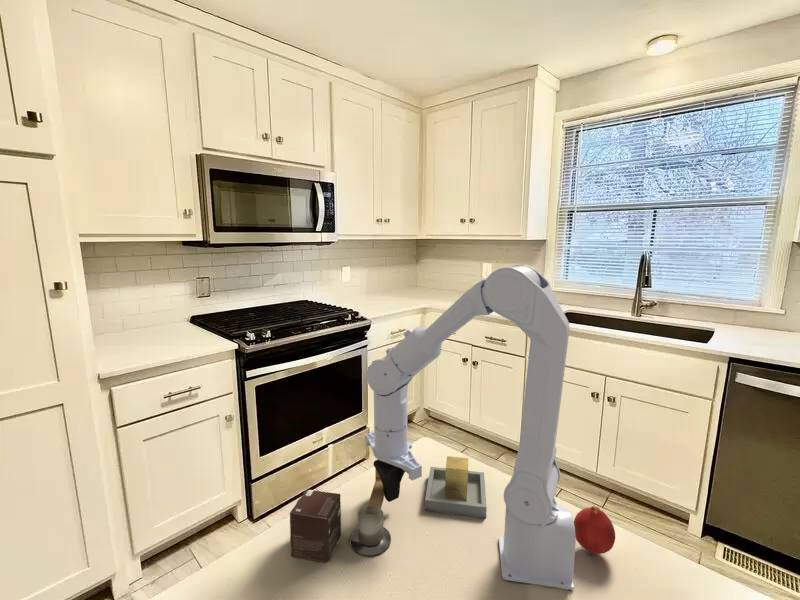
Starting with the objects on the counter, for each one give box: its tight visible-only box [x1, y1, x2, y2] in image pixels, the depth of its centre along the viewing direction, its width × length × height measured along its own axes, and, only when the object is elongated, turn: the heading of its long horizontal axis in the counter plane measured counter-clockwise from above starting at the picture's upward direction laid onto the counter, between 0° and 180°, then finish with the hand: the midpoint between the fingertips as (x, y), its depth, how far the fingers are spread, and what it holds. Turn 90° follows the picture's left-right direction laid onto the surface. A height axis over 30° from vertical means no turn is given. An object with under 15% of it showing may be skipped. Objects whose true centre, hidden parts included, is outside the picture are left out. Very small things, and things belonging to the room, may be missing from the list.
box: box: [289, 489, 342, 563], centre depth 61 cm, size 6×6×7 cm
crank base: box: [349, 526, 392, 558], centre depth 62 cm, size 6×6×1 cm
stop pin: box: [445, 455, 469, 501], centre depth 73 cm, size 4×4×6 cm
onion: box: [573, 505, 616, 556], centre depth 60 cm, size 6×6×8 cm
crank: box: [357, 467, 385, 546], centre depth 67 cm, size 14×4×5 cm, turn 173°
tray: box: [424, 466, 488, 519], centre depth 74 cm, size 11×11×2 cm
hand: (391, 498), depth 69 cm, fingers closed, pressing on crank
